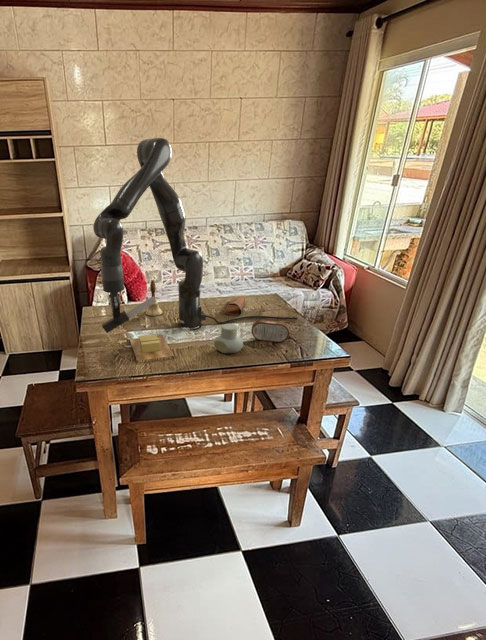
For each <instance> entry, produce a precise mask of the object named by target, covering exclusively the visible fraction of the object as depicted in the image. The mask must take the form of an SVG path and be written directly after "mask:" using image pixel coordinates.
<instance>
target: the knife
mask: <svg viewBox="0 0 486 640" xmlns="http://www.w3.org/2000/svg"><path fill="white" fill-rule="evenodd" d="M155 302H158V301H157V300H156V297H155V298H154V296H153V297H152V296H151V297H149V298H148V299H147V300H145V301H143V302H142V303H140V304H138V305H137V306H135V307H134V308H132V309H130V310H129V311H127V312H126V311H125V310H123V311H121V312H120V324H118V325H115V324H114V318H113V317H112V318H110V319H109V320H107V321H105V322H104V323H102V324H101V327H102V329H103V330H104V332H105V333H106V334H108V333H110V332H112V331H113V330H115V329H116V328H118V327H119V326H121V325H123V324H124V323H126V322H128V321H129V320H130V319H131V318H132V317H134V316H136V315H138V314H139V313H141V312H142V311H144V310H145V309H146V310H147V309H148V307H149V306H151V305H152V304H154V303H155Z"/></svg>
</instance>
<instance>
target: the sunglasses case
mask: <svg viewBox="0 0 486 640" xmlns="http://www.w3.org/2000/svg"><path fill="white" fill-rule="evenodd" d="M245 303H246V297H245V296H244V295H241V296H238V297H236V298H235V299H232V300H229V301H228V304H227V306H226V307H225V309H224V311H223V314H225V315H229V316H240V315H242V312H243V310H244V306H245Z"/></svg>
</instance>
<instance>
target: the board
mask: <svg viewBox="0 0 486 640" xmlns="http://www.w3.org/2000/svg"><path fill="white" fill-rule="evenodd" d="M156 336H157V338H158V340H159V342H160V351H153V352H145V353H142V349H141V348H140V345H139V337H137V338H129V342H130V344H131V347H132V350H133V354H134V356H135V359H136V361H144V360H153V359H159V358H160V359H161V358H167V357H168V358H169V357H174V353H173V352H172V350H171V348H170V346H169V344H168V342H167V341H166V338H165V337H164V335H156Z"/></svg>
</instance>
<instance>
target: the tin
mask: <svg viewBox="0 0 486 640" xmlns="http://www.w3.org/2000/svg"><path fill="white" fill-rule="evenodd" d="M290 334H291V328H290V325H289V324H288V323H286V322H285V321H280V320H271V319H258V320H256V321H254V323H253V324H252V326H251V335H252V336H253V338H254V339H255V340H258V341H264V342H271V343H272V342H273V343H284V342H285V341H287V340H288V339H289V337H290Z"/></svg>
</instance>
